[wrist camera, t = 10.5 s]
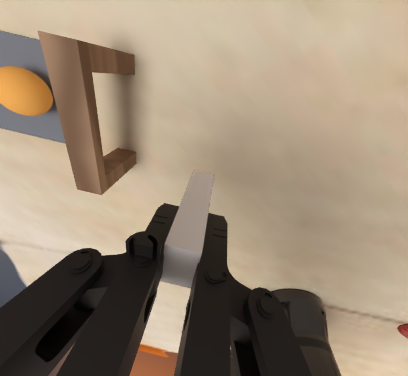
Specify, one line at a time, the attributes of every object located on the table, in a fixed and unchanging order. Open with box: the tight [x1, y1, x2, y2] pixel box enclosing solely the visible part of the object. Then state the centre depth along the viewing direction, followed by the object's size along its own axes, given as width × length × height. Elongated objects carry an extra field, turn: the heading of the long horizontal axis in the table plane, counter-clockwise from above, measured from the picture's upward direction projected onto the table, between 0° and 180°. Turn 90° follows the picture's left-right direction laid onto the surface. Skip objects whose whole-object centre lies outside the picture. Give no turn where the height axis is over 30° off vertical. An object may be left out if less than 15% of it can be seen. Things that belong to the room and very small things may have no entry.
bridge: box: [38, 31, 136, 195], centre depth 21 cm, size 3×14×9 cm, turn 169°
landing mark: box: [0, 31, 66, 143], centre depth 24 cm, size 13×13×1 cm
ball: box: [0, 66, 53, 116], centre depth 22 cm, size 6×6×6 cm
